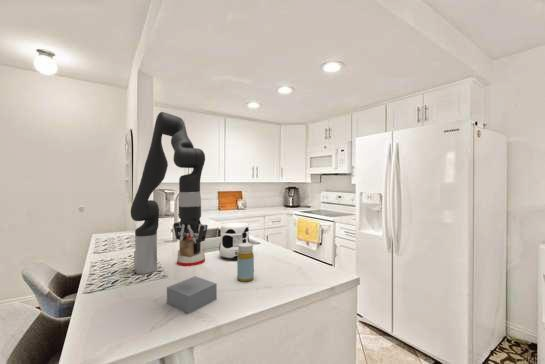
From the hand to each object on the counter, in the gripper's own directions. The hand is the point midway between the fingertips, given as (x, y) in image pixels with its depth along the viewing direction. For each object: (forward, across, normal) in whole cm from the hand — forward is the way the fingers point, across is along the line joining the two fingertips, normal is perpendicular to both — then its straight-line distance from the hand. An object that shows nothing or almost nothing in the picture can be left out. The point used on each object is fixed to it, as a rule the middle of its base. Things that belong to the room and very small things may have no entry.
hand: (190, 252), depth 89 cm
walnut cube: (+1, 0, 0) cm, 1 cm away
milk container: (+18, -15, +50) cm, 56 cm away
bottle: (+18, +7, +26) cm, 32 cm away
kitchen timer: (+18, -31, +33) cm, 49 cm away
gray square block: (+18, 0, 0) cm, 18 cm away
